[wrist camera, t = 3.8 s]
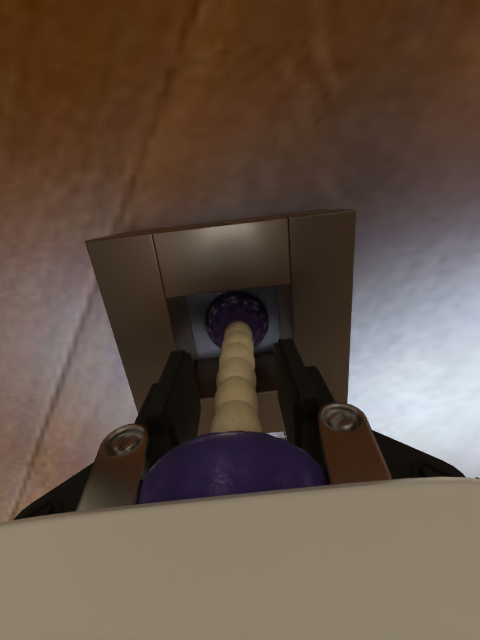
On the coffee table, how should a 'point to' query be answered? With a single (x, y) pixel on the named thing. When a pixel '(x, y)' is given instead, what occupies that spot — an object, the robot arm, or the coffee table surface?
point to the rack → (226, 275)
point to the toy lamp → (232, 423)
